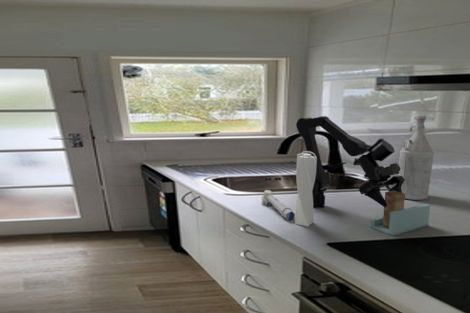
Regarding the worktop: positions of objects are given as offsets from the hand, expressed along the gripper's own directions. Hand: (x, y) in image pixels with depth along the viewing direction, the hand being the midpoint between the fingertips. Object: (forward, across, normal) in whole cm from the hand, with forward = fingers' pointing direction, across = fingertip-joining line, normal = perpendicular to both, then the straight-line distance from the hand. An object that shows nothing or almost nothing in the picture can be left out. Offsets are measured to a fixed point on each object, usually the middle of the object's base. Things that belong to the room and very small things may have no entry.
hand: (394, 204), depth 116 cm
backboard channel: (+6, +5, +7) cm, 11 cm away
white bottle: (-10, +45, +23) cm, 52 cm away
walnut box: (+6, 0, +6) cm, 9 cm away
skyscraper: (-7, -24, +21) cm, 33 cm away
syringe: (-19, -25, +33) cm, 45 cm away
